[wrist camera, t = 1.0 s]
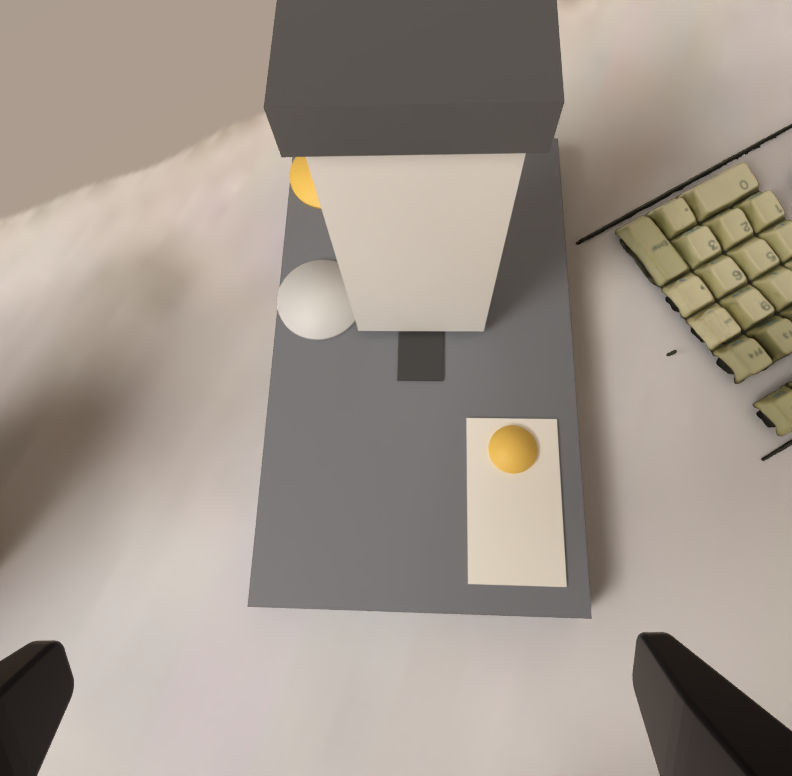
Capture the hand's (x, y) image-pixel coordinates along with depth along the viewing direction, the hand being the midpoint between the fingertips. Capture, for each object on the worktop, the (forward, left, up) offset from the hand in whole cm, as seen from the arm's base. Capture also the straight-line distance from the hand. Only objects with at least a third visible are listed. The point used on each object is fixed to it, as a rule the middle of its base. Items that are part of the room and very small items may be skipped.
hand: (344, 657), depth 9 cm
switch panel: (+9, -4, -13) cm, 16 cm away
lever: (+11, -4, -11) cm, 16 cm away
